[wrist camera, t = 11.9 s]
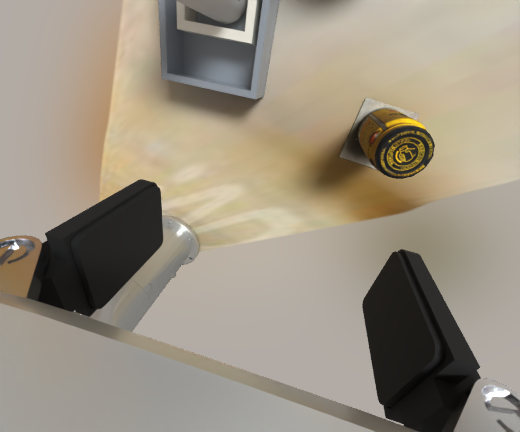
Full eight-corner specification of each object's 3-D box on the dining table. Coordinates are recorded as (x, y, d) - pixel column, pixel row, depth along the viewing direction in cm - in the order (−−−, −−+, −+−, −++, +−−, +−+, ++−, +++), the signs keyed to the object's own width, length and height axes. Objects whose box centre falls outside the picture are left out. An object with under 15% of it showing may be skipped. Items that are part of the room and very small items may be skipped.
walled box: (263, 96, 35) (255, 99, 31) (180, 78, 36) (161, 78, 32) (289, -64, 26) (283, -91, 22) (179, -80, 28) (153, -108, 23)
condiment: (419, 114, 32) (463, 132, 22) (384, 171, 36) (408, 209, 26) (365, 97, 32) (385, 107, 22) (338, 156, 37) (344, 187, 27)
